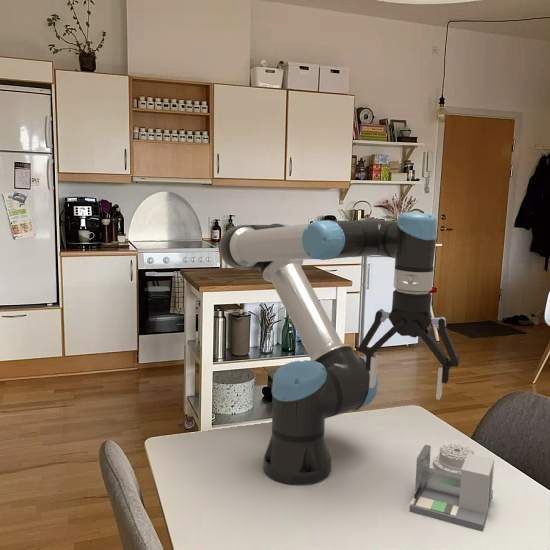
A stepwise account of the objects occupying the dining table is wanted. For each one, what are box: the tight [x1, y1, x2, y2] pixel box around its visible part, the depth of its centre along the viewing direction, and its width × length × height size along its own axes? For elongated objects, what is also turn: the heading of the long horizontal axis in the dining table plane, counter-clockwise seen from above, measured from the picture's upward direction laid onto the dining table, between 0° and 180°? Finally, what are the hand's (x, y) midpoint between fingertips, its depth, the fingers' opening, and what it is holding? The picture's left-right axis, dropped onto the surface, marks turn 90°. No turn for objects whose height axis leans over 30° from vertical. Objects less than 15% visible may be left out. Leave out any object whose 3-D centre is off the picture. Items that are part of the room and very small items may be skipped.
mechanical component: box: [433, 443, 476, 475], centre depth 127 cm, size 10×4×10 cm
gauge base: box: [409, 453, 495, 532], centre depth 111 cm, size 14×14×9 cm
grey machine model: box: [413, 444, 461, 499], centre depth 111 cm, size 11×10×7 cm
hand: (404, 391), depth 116 cm, fingers open, 13 cm apart
